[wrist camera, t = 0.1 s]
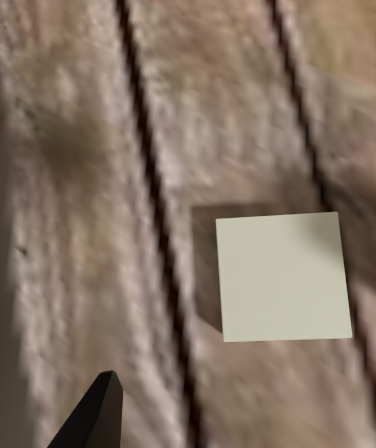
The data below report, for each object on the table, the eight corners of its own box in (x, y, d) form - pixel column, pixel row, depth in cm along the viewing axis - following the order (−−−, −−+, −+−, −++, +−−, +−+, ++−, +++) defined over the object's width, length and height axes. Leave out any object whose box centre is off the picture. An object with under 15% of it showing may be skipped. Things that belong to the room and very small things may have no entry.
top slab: (342, 332, 21) (352, 337, 20) (222, 336, 22) (223, 341, 21) (329, 214, 23) (337, 211, 21) (215, 221, 23) (216, 219, 22)
